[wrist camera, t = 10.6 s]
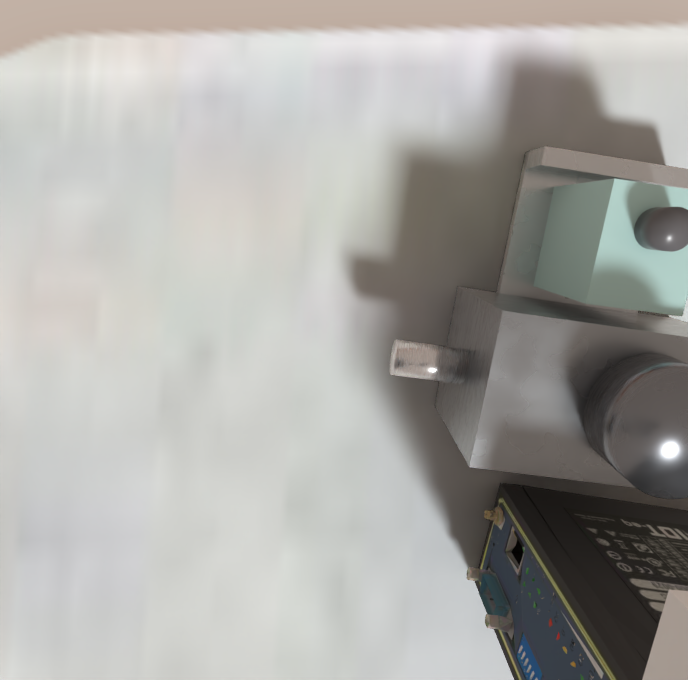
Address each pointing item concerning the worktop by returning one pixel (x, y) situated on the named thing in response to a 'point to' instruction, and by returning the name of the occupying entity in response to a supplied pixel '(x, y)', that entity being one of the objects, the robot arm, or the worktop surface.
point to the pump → (617, 245)
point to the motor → (561, 359)
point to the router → (578, 581)
